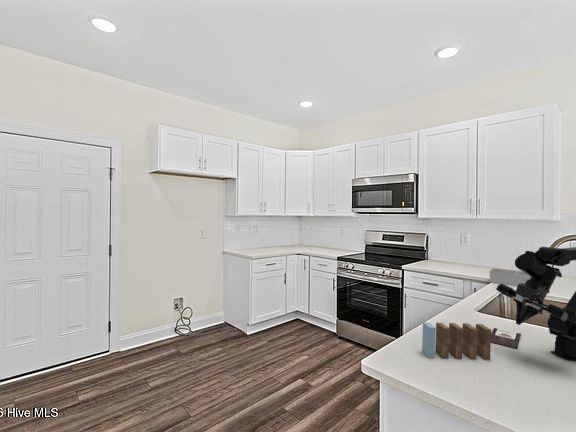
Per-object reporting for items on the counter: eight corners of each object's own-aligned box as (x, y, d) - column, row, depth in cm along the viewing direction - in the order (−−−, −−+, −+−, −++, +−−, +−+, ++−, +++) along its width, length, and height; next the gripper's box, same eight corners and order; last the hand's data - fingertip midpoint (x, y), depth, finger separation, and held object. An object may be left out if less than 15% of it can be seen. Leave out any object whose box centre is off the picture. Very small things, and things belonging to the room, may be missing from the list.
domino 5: (480, 353, 106) (481, 323, 106) (490, 360, 101) (491, 329, 101) (474, 352, 106) (475, 323, 106) (483, 359, 101) (484, 329, 101)
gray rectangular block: (492, 279, 234) (492, 268, 234) (540, 286, 216) (540, 273, 216) (489, 283, 221) (489, 271, 221) (539, 290, 203) (540, 277, 203)
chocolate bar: (487, 340, 116) (494, 327, 129) (487, 343, 116) (493, 330, 130) (517, 347, 110) (520, 333, 124) (517, 350, 110) (520, 336, 124)
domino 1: (427, 351, 106) (428, 322, 106) (434, 358, 101) (435, 327, 101) (422, 351, 106) (423, 322, 106) (428, 358, 101) (429, 327, 101)
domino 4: (467, 352, 106) (468, 323, 106) (476, 359, 101) (477, 329, 101) (461, 352, 106) (462, 323, 106) (470, 359, 101) (471, 328, 101)
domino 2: (441, 351, 106) (442, 322, 106) (448, 358, 101) (449, 328, 101) (435, 351, 106) (436, 322, 106) (442, 358, 101) (443, 327, 101)
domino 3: (454, 352, 106) (455, 323, 106) (462, 359, 101) (463, 328, 101) (448, 352, 106) (449, 322, 106) (455, 358, 101) (456, 328, 101)
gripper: (501, 263, 105) (479, 304, 105) (569, 288, 90) (544, 336, 89) (512, 273, 111) (491, 311, 111) (578, 298, 96) (554, 343, 96)
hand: (517, 324), depth 102 cm, fingers closed
